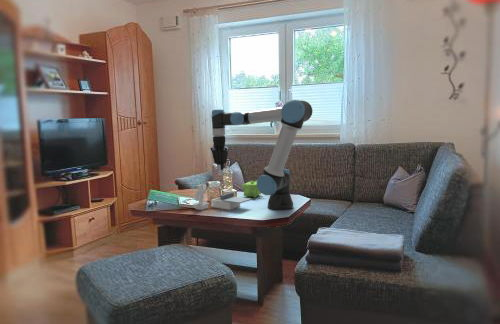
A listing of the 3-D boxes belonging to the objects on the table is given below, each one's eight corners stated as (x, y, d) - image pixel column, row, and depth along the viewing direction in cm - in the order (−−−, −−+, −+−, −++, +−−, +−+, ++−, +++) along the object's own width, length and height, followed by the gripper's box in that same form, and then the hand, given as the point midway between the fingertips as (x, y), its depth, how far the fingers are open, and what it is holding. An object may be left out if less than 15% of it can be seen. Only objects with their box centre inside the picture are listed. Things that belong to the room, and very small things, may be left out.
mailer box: (240, 207, 219) (239, 198, 219) (229, 210, 211) (229, 202, 211) (222, 204, 227) (221, 196, 227) (211, 207, 219) (211, 199, 219)
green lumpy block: (257, 193, 259) (256, 178, 257) (267, 196, 247) (266, 181, 246) (238, 196, 251) (237, 180, 250) (247, 199, 240) (247, 183, 238)
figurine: (191, 210, 213) (190, 185, 211) (201, 207, 221) (200, 182, 219) (201, 212, 210) (200, 186, 208) (211, 208, 218) (210, 183, 216)
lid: (251, 199, 215) (251, 194, 214) (240, 203, 206) (240, 198, 205) (231, 197, 223) (231, 192, 222) (220, 200, 214) (220, 195, 214)
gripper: (231, 135, 216) (233, 174, 218) (214, 135, 223) (216, 173, 226) (223, 136, 209) (225, 176, 212) (206, 136, 217) (208, 175, 220)
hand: (220, 175), depth 219 cm, fingers closed
